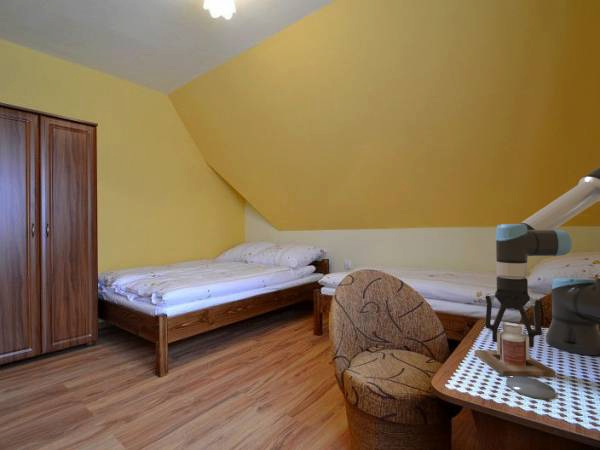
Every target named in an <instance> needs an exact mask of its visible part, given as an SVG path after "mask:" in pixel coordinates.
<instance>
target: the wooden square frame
mask: <svg viewBox="0 0 600 450" xmlns="http://www.w3.org/2000/svg"><path fill="white" fill-rule="evenodd" d="M474 355H475V357H477V359H480V360H481V361H482V362H483V363H484V364H486V365H487V366H488V367H490V368H491V369H492V370H493V371H495V372H496V373H497V374H499V375H500V376H501V377H503V378H505V376H506V377H507V376H521V377H528V378H531V377H533V378H545V377H546V378H555V377H556V370H554V369H552V368H551V367H548V366H547V365H545V364H544V363H542V362H541V361H540V360H539V361H538V360H537V359H535V358H534V357H532V356H530V355H529V360H527V359H526V365H525V366H508V365H505V364H504V363H502V362H501V360H500V355H497V349H484V350H483V349H482V350H481V349H475V350H474ZM507 378H508V377H507Z"/></svg>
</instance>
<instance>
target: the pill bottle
mask: <svg viewBox="0 0 600 450" xmlns="http://www.w3.org/2000/svg"><path fill="white" fill-rule="evenodd" d="M502 330H503V331H500V359H499V360H500V361H501V362H502V363H504V364H505V365H507V366H526V356H525V335H524V334H522V332H523V326H521V325H519V324H514V323H503V324H502Z"/></svg>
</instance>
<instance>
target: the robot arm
mask: <svg viewBox="0 0 600 450" xmlns="http://www.w3.org/2000/svg"><path fill="white" fill-rule="evenodd" d="M598 202H600V166H598V167H597V168H596V169H594V170H592V171H591V172H589V173H588V174H586V175H585V176H583V177H582V178H580V180H579V181H578V184H577V185H576V186H574V187H572V188H571V189H569V190H568V191H567V192H565V193H564V194H562V195H560V196H559V197H557V198H556V199H554V200H553V201H552V202H550V203H548V204H547V205H546V206H544V207H542V208H541V209H539V210H538V211H536V212H535V213H534V214H532V215H530V216H528V218H526V219H524V220H523V221H521V222H520V223H501V224H498V225H497V227H496V232H495V248H496V249H495V251H496V252H495V254H496V255H495V256H496V261H495V262H496V275H497V277H496V290H495V292H494V293H493V294H488V293H486V294H485V296H484V299H485V301H486V311H485V312H486V313H485V323H484V324H485V328H486V329H488V330H490V331H492V332H491V333H492V338H491V340H492V342H493V343H496V350H497V355H500V333H501V330H499V327H500V325H501V322H502V320H503V316H504V314H505V312H506V311H507V309H509V310H510V309H513V310H518V311H519V314H520V316H521V318H522V319H521V320H522V321H523V323H524V326H525V330H526V332H527V333H524V337H525V356H526V359H527V360H529V356H530V348H534V347H535V343H534V342H535V337H536V336H542V335H543V331H542V323H541V314H540V313H541V312H540V308H541V305H542V301H541V300H540V299H539V298H534V297H531V296H530V295H529V292H528V291H529V290H528V285H529V284H528V281H529V280H528V278H526V277H528V272H529V271H528V257H558V256H565V255H568V254H569V253H570V252H571V250H572V247H573V239H572V236H571V235H570V234H569V233H568V232H566V231H564V230H563V229H562V230H561V229H560V230H559V229H557V228H559V227H561V226H562V225H564V224H565V223H566V222H568V221H570V220H571V219H572V218H573V219H574V217H576V216H577V215H579V214H580V213H583V211H585V210H586V209H588V208H590V207H591V206H593V205H594V204H596V203H598ZM495 299H496V300H497V301H498V302H499V304H500V305H499V308H498V311H497V313H496V316H495V318H494V321H493V324H492V322H491V320H492V309H493V302H495ZM528 302H530V304H531V306H532V312H533V313H532V314H533V322H534V329H532V327H531V323H530V320H529V319H528V316H527V313H526V312H525V309H524V306H526V304H528ZM551 310H552V311H551V315H552V317H551V323H550V325H549V327H548V330H547V332H546V334H545V342H546V343H547V344H548V345H549V346H552V347H554V348H557V350H558V349H559V350H562V351H564V352H565V351H566V352H569V353H573V354H578V355H586V356H600V328H599V325H600V276H597V277H596V278H592V277H591V278H590V277H588V278H587V277H556V278H554V279H553V280H552V285H551Z"/></svg>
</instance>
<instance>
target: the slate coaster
mask: <svg viewBox="0 0 600 450" xmlns="http://www.w3.org/2000/svg"><path fill="white" fill-rule="evenodd" d="M505 383H506V386H507V387H508V388H509V389H510V390H512V391H513V390H514V391H513V392H515V393H517V394H519V395H522V396H525V397H527V398H531V399H537V400H553V399H554V398H556V396H557V393H556V390H555V389H554V388H553V387H552V386H551V385H549V384H548V383H545V382H543V381H541V380H540V379H539V380H538V379H535V378H531V377H521V376H513V377H507V378H506V379H505Z"/></svg>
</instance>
